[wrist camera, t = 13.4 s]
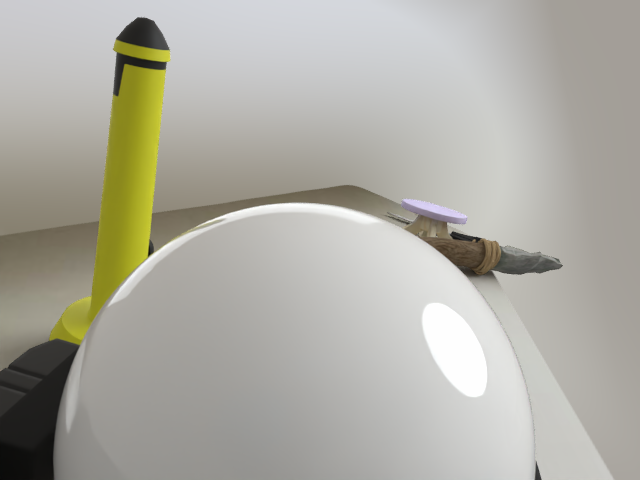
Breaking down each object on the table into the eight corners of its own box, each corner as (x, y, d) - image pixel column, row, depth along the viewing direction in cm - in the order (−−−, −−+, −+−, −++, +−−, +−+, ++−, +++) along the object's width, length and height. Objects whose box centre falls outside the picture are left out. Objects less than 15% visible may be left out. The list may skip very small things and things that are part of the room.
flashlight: (132, 22, 26) (253, 41, 34) (27, -9, 30) (155, 14, 38) (95, 429, 35) (196, 375, 43) (17, 363, 40) (122, 324, 47)
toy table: (389, 241, 79) (400, 204, 78) (395, 227, 88) (405, 193, 86) (456, 261, 78) (468, 223, 76) (455, 245, 86) (467, 210, 85)
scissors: (395, 206, 95) (509, 248, 88) (394, 211, 96) (507, 253, 89) (381, 212, 90) (502, 257, 82) (380, 217, 90) (500, 263, 83)
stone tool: (380, 244, 68) (578, 270, 77) (376, 215, 70) (568, 244, 79) (363, 268, 72) (551, 290, 81) (359, 240, 75) (543, 264, 84)
